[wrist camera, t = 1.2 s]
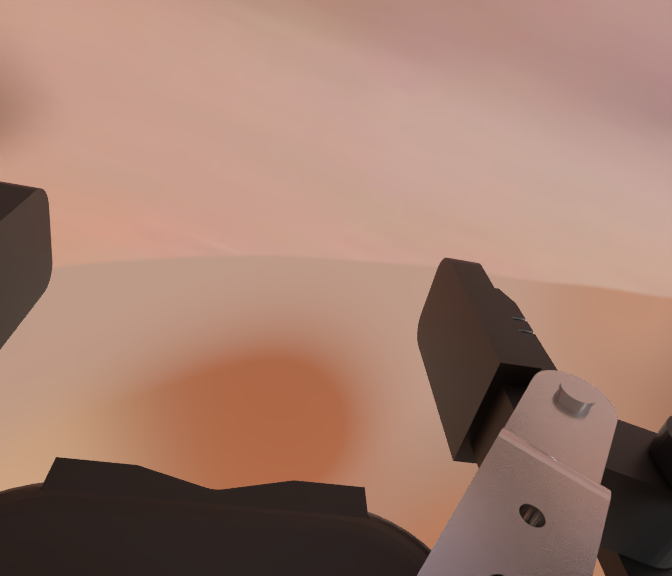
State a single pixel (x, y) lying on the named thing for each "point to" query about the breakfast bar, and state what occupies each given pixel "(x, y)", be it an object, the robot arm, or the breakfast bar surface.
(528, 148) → the breakfast bar surface
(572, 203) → the breakfast bar surface
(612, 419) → the robot arm
